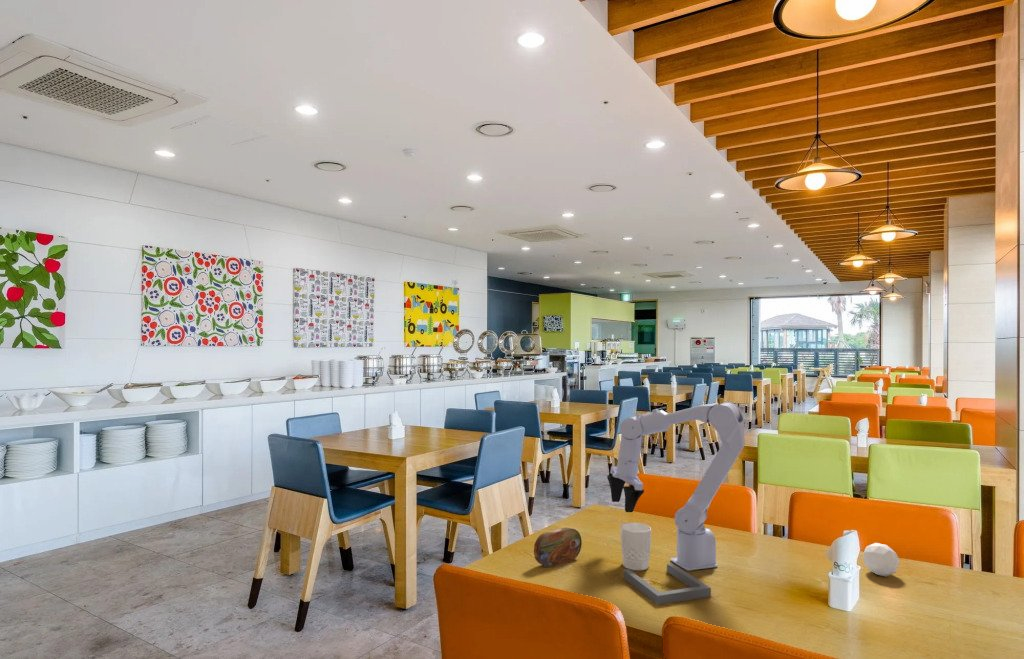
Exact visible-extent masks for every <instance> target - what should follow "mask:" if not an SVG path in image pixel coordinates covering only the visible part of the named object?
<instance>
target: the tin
mask: <svg viewBox="0 0 1024 659" xmlns="http://www.w3.org/2000/svg"><path fill="white" fill-rule="evenodd" d="M582 545H583V542H582V536H581V534H580V532H579V531H578V530H577V529H576V528H570V527H562V528H557V529H555V530H551V531H547V532H543V533H542V534H540V535H539V536H538V537H537V538H536V540H535V542H534V546H533V554H534V559H535V561H537V563H538V564H540V565H542V566H544V567H546V568H553V567H556V566H560V565H562V564H565V563H568V562H571V561H574V560H575V559H577V557H578V556H579V555H580V553H581V550H582Z"/></svg>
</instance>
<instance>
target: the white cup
mask: <svg viewBox="0 0 1024 659" xmlns="http://www.w3.org/2000/svg"><path fill="white" fill-rule="evenodd" d="M619 528H620V529H619V530H620V544H621V545H620V546H621V556H622V566H623V567H625V569H629V570H631V571H645V570H648V568H650V556H651V544H652V543H651V542H652V527H651V526H650V525H648V524H645V523H640V522H626V523H625V522H624V523H623V524H621V525H620V527H619Z"/></svg>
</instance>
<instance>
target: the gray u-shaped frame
mask: <svg viewBox="0 0 1024 659" xmlns="http://www.w3.org/2000/svg"><path fill="white" fill-rule="evenodd" d="M622 571H623V572H622V573H623V574H622V578H623V579H625V580H626V581H627V582H628V583H629V584H630V585H632V586H633V587H634V588H635V589H637V590H638V591H639V592H641V593H642V594H643V595H644V596H646V597H647V598H649V600H651V601H652V602H653V603H655V604H656V605H657V606H659V605H666V604H665V603H667V604H671V603H670V602H673V603H679V602H678V601H680V602H685V601H691V600H698V599H704V598H711V597H712V588H711V587H710V586H709V585H707V584H705V582H702V581H701V580H699V579H698V578H696V577H695V576H693V575H691V574H690V573H689V572H687V571H685V569H683V568H681V567H680V566H678V565H677V564H676V565H675V563H671V562H670V563H667V564H666V572H667V573H668V574H670V575H671V576H673V577H674V578H676V579H677V580H678V581H680V582H681V583H683V584H684V585H686V586H687V587H685V588H679V589H671V590H666V591H659V590H658V589H656V588H655V587H654V586H652V584H650V583H649V582H647V581H646V580H644V579H643V578H642V577H640V576H639V575H637V574H636V573H635V572H634V571H633V570H630V569H628V568H625V569H623V570H622Z"/></svg>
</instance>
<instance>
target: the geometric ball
mask: <svg viewBox="0 0 1024 659" xmlns="http://www.w3.org/2000/svg"><path fill="white" fill-rule="evenodd" d="M863 551H864V552H863V554H862V560H863V564H864V566H865V567H866V568H867V569H868V570H870V571H871V572H872V573H873V574H874V573H875V575H878V576H882V577H888V576H889V577H890V576H891V575H893V574H896V572H897V570H898V568H899V566H900V560H899V556H898V554H897V553H896V552H895V551H894V549H892V548H891V547H890V546H888V545H887V544H884V543H883V544H882V543H879V542H874V543H872V544H869V545H867V546H866V547H865V548H864V550H863Z"/></svg>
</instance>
